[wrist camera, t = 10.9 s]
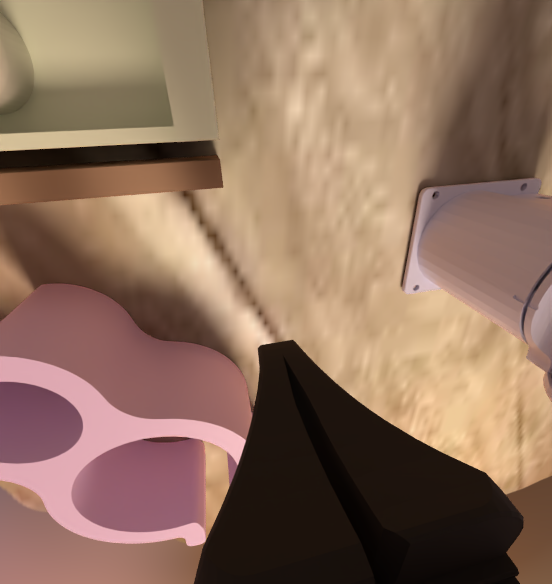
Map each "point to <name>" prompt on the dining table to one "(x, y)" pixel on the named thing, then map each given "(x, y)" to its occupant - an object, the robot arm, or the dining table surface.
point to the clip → (113, 417)
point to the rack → (108, 179)
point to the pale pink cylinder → (14, 69)
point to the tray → (112, 74)
